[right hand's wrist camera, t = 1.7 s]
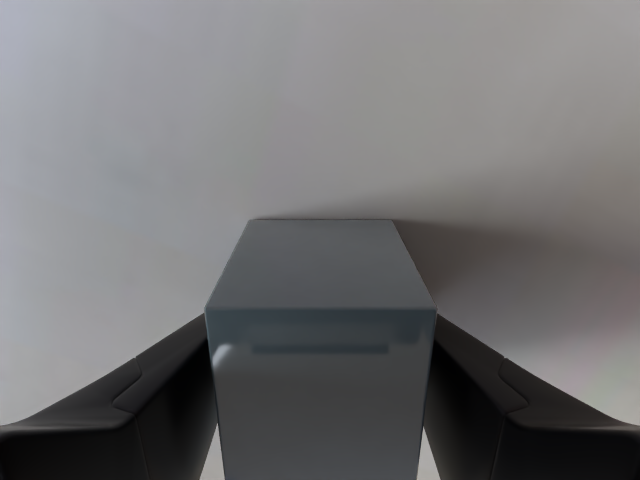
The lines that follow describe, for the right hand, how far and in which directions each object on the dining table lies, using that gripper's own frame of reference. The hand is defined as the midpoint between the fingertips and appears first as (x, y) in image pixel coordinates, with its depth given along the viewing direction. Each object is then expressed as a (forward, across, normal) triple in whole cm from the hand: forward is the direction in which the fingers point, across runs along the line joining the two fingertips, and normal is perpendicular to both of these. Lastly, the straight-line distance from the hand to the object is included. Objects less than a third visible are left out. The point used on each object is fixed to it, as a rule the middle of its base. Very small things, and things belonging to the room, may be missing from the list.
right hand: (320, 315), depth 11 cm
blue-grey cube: (+1, 0, 0) cm, 1 cm away
